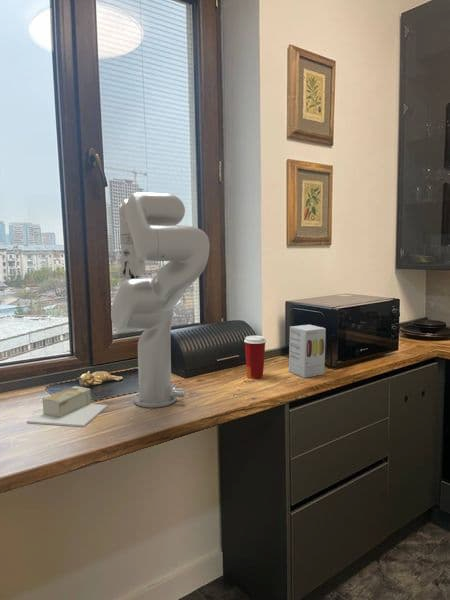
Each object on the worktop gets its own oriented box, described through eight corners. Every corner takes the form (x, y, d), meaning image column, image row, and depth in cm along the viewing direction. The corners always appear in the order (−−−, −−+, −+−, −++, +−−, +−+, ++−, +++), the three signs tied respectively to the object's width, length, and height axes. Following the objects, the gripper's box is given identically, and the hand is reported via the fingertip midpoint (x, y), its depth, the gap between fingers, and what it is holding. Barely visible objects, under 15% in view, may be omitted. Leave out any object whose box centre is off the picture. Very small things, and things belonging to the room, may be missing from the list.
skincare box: (91, 388, 126) (60, 402, 115) (91, 402, 127) (60, 417, 116) (73, 385, 129) (41, 398, 118) (74, 399, 129) (42, 414, 118)
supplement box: (304, 378, 150) (305, 330, 148) (287, 371, 159) (288, 326, 156) (325, 374, 155) (326, 327, 153) (308, 368, 163) (309, 323, 161)
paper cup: (269, 375, 154) (270, 336, 152) (259, 381, 148) (259, 340, 146) (250, 372, 158) (250, 334, 156) (239, 377, 152) (239, 338, 150)
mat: (107, 406, 125) (107, 405, 125) (84, 426, 111) (84, 425, 111) (55, 403, 127) (55, 402, 127) (26, 422, 114) (26, 421, 114)
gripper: (134, 240, 133) (136, 299, 136) (150, 240, 148) (152, 294, 150) (111, 240, 135) (113, 299, 137) (129, 240, 149) (131, 293, 152)
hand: (133, 296), depth 144 cm, fingers closed
